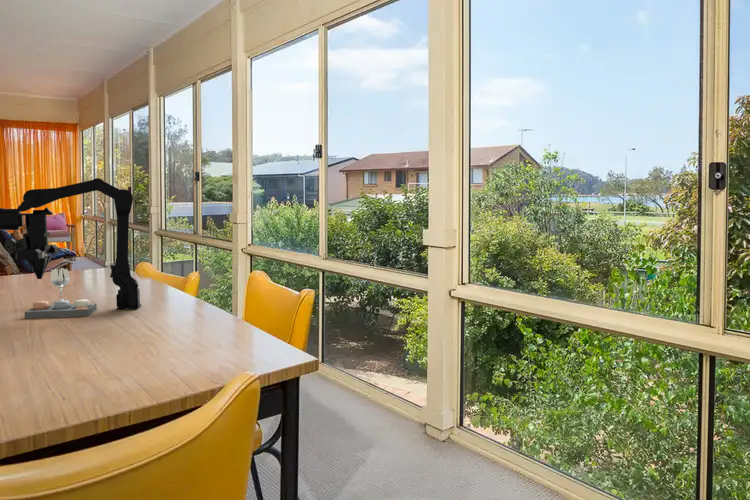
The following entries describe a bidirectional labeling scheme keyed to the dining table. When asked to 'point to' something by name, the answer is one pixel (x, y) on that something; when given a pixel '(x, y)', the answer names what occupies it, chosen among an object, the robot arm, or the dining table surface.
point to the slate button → (61, 304)
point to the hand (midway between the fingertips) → (39, 278)
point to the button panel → (60, 312)
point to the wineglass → (60, 278)
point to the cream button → (81, 303)
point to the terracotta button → (41, 305)
